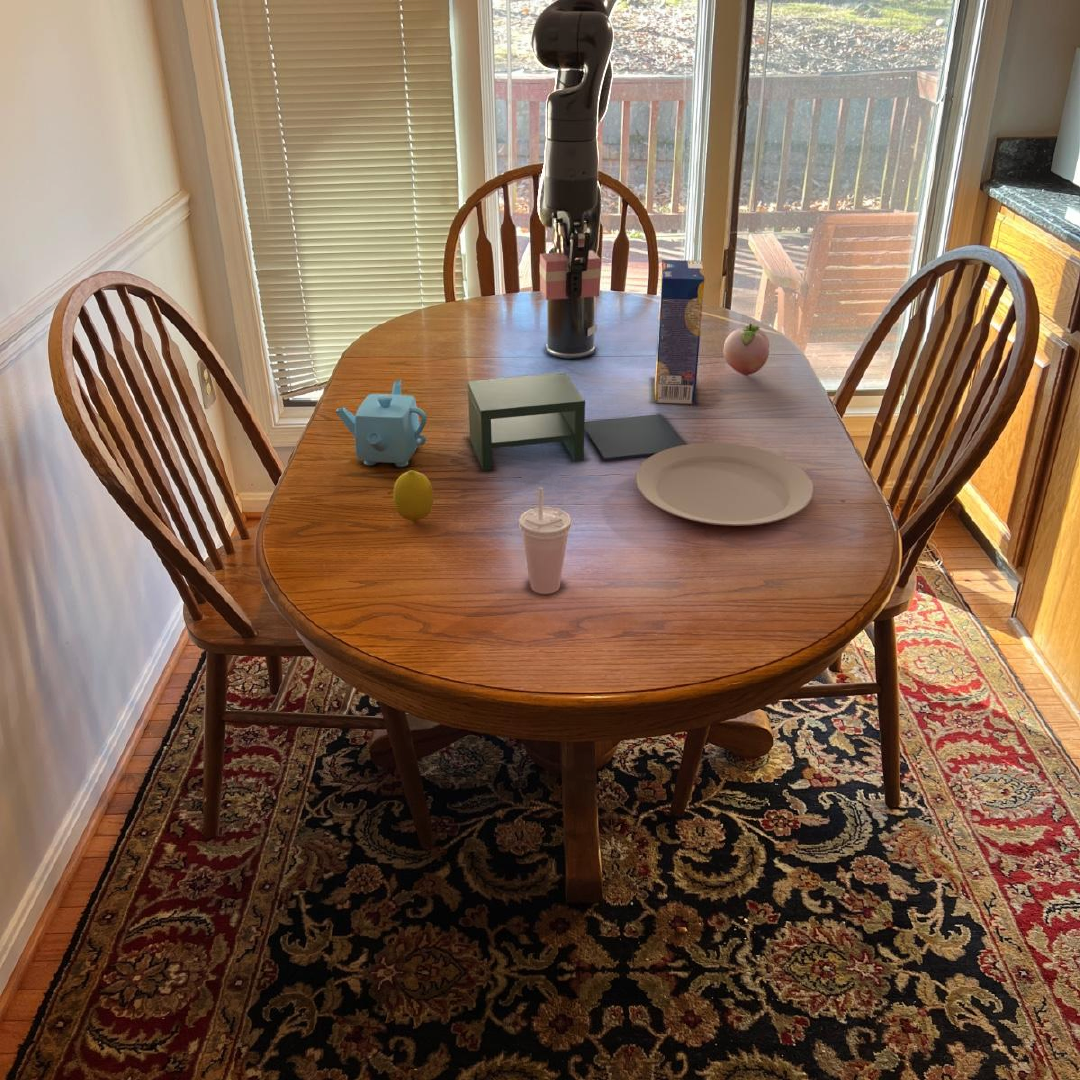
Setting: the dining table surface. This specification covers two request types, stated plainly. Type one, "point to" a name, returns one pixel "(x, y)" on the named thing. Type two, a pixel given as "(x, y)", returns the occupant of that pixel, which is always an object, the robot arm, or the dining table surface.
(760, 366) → the decorative fruit
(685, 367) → the beverage box
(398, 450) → the teapot
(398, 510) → the lemon
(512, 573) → the dining table surface
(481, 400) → the shelf stand
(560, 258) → the block
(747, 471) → the plate
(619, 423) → the mat
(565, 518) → the smoothie
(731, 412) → the dining table surface
